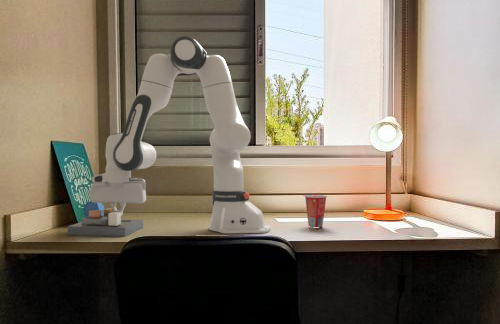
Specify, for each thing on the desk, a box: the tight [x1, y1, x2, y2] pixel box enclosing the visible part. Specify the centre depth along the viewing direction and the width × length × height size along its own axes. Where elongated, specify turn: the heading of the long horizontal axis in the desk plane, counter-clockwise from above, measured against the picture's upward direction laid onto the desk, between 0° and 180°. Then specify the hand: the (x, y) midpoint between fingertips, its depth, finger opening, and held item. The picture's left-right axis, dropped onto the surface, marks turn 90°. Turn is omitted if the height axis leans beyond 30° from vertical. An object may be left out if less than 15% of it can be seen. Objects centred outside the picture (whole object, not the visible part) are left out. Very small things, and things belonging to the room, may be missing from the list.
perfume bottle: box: [82, 195, 106, 218], centre depth 146 cm, size 6×6×12 cm
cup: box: [301, 194, 328, 228], centre depth 140 cm, size 9×8×12 cm
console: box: [67, 216, 144, 237], centre depth 130 cm, size 20×16×5 cm
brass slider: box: [104, 207, 113, 216], centre depth 135 cm, size 3×3×4 cm
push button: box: [89, 210, 101, 219], centre depth 129 cm, size 4×4×2 cm
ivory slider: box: [108, 212, 122, 226], centre depth 125 cm, size 3×3×4 cm
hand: (118, 215), depth 134 cm, fingers closed
